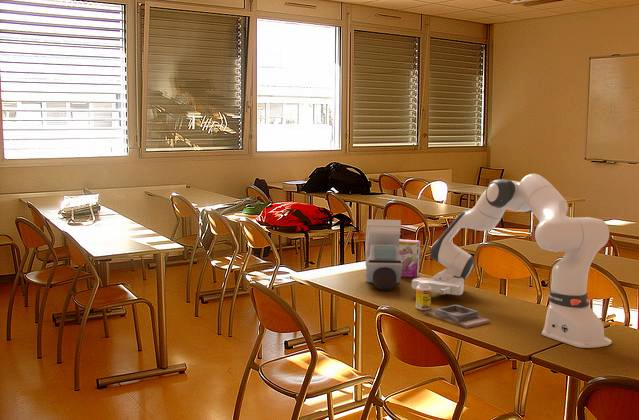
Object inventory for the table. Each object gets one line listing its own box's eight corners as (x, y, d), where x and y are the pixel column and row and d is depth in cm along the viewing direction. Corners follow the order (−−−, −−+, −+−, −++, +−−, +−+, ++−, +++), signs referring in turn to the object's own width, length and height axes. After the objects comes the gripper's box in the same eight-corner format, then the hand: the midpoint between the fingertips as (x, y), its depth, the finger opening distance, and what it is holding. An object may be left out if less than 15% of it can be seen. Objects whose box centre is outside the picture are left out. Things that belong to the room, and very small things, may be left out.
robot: (400, 307, 287) (396, 251, 307) (404, 276, 271) (400, 220, 291) (365, 306, 287) (364, 251, 307) (368, 275, 271) (366, 219, 291)
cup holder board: (489, 322, 238) (490, 314, 238) (466, 328, 231) (466, 319, 231) (447, 309, 254) (447, 301, 254) (424, 314, 247) (424, 306, 247)
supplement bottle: (422, 311, 251) (423, 284, 250) (412, 307, 255) (413, 281, 254) (433, 309, 254) (434, 282, 253) (423, 305, 259) (424, 279, 257)
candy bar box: (392, 276, 306) (393, 240, 304) (394, 274, 311) (395, 238, 308) (417, 278, 303) (418, 242, 301) (418, 275, 308) (420, 240, 306)
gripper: (418, 272, 277) (405, 278, 265) (467, 278, 267) (456, 285, 255) (417, 287, 278) (405, 294, 266) (466, 294, 268) (456, 302, 256)
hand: (430, 290), depth 260 cm, fingers open, 8 cm apart
